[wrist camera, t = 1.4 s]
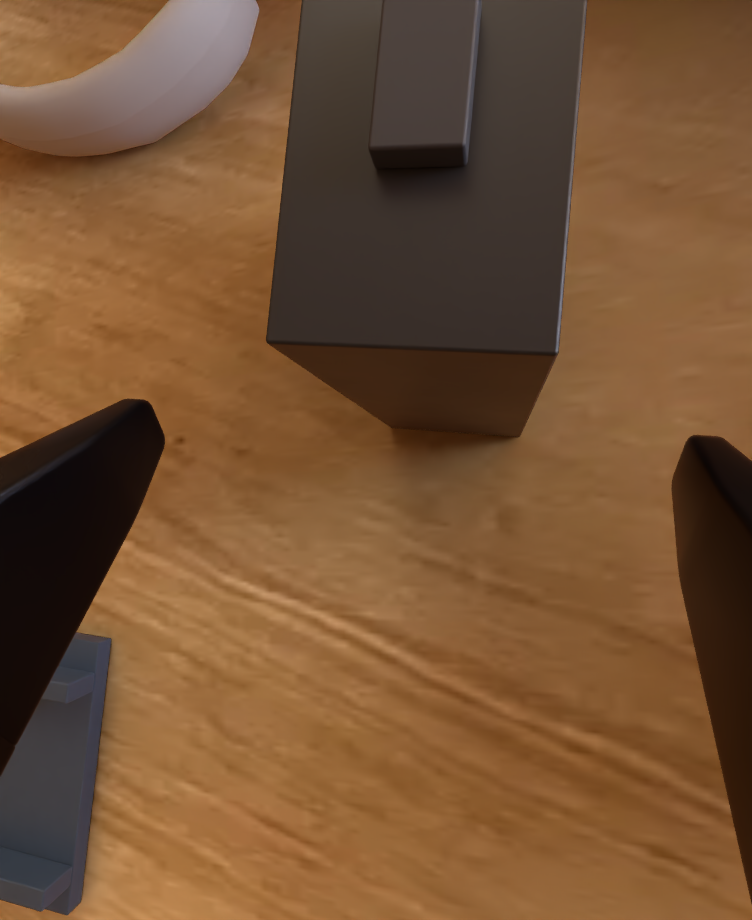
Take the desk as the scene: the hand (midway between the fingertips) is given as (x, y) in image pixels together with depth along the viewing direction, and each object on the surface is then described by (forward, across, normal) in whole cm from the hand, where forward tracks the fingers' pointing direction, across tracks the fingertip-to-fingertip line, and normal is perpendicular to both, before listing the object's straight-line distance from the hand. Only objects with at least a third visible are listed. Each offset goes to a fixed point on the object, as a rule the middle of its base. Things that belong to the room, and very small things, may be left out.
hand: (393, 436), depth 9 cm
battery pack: (+13, 0, +4) cm, 14 cm away
